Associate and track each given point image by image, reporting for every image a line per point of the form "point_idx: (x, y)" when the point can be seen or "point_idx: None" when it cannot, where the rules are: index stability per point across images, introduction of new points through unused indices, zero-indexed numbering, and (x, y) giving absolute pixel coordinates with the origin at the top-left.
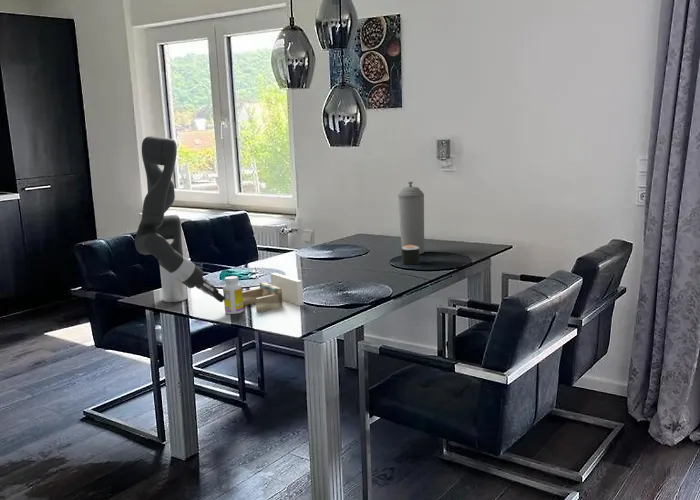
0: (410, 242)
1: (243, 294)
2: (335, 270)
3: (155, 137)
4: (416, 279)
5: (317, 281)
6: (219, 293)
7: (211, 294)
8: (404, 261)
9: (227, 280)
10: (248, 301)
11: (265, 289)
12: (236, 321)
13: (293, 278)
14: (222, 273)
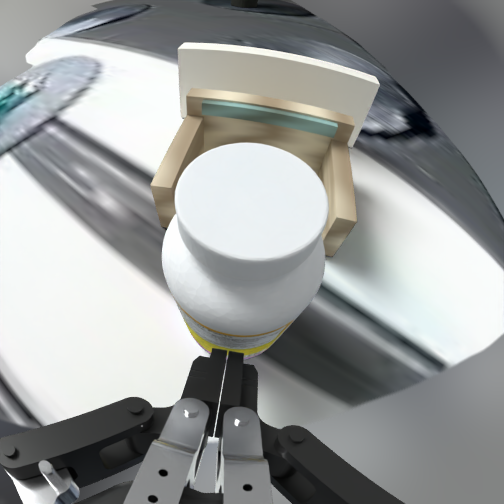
0: None
1: (175, 187)
2: (167, 25)
3: None
4: (327, 31)
5: None
6: (240, 392)
7: (289, 496)
8: (244, 3)
9: (282, 268)
10: None
11: (236, 119)
12: (377, 394)
13: (324, 61)
14: None
